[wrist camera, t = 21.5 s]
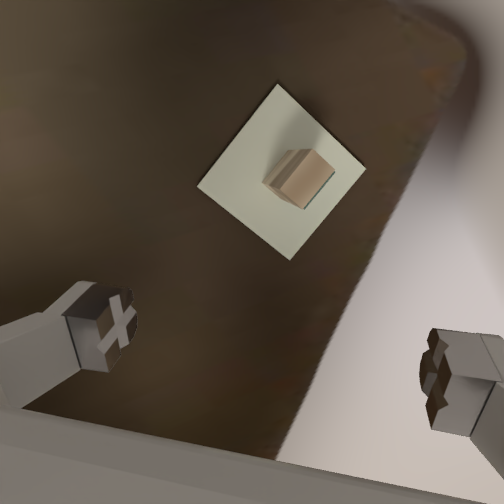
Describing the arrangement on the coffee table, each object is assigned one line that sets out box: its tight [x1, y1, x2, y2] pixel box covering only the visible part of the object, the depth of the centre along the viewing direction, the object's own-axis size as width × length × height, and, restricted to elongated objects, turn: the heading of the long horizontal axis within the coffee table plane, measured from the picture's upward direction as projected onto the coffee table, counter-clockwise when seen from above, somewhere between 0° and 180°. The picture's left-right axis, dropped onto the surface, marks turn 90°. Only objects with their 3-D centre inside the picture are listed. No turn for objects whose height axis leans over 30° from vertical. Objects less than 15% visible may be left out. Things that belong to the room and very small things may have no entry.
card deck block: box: [262, 149, 335, 210], centre depth 33 cm, size 3×4×8 cm
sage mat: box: [197, 84, 366, 260], centre depth 37 cm, size 12×12×1 cm
